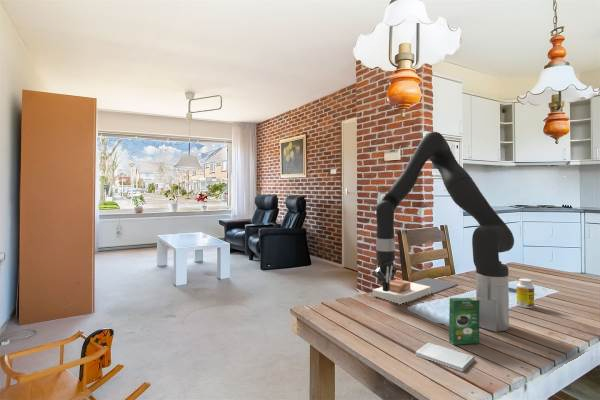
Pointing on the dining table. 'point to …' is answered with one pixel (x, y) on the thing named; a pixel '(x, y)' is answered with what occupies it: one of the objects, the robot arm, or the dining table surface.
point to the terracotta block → (399, 286)
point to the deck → (403, 293)
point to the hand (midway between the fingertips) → (386, 290)
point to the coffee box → (464, 321)
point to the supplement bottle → (525, 293)
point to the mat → (435, 284)
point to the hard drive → (445, 356)
